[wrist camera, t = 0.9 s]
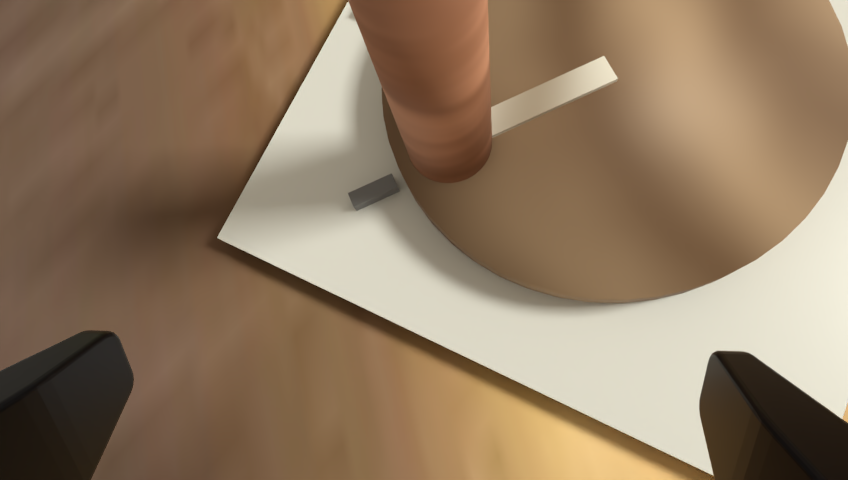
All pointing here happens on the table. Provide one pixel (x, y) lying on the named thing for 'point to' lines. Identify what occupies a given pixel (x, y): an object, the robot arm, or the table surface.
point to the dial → (612, 132)
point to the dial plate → (524, 308)
